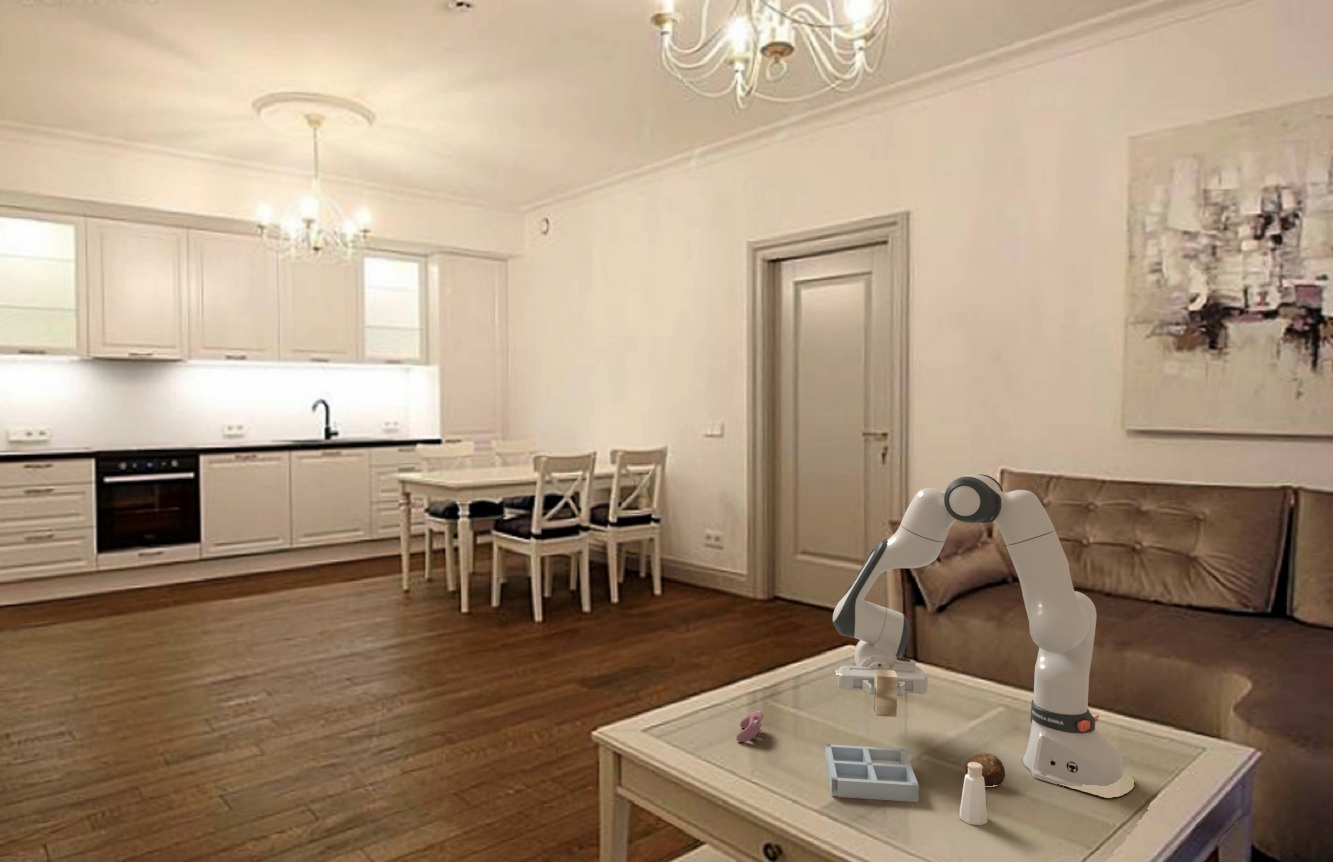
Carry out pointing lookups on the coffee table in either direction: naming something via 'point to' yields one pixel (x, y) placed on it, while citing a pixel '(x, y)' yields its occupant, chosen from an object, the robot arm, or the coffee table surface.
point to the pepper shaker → (973, 796)
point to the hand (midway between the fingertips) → (886, 692)
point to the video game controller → (750, 726)
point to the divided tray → (870, 773)
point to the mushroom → (989, 768)
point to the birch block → (885, 693)
